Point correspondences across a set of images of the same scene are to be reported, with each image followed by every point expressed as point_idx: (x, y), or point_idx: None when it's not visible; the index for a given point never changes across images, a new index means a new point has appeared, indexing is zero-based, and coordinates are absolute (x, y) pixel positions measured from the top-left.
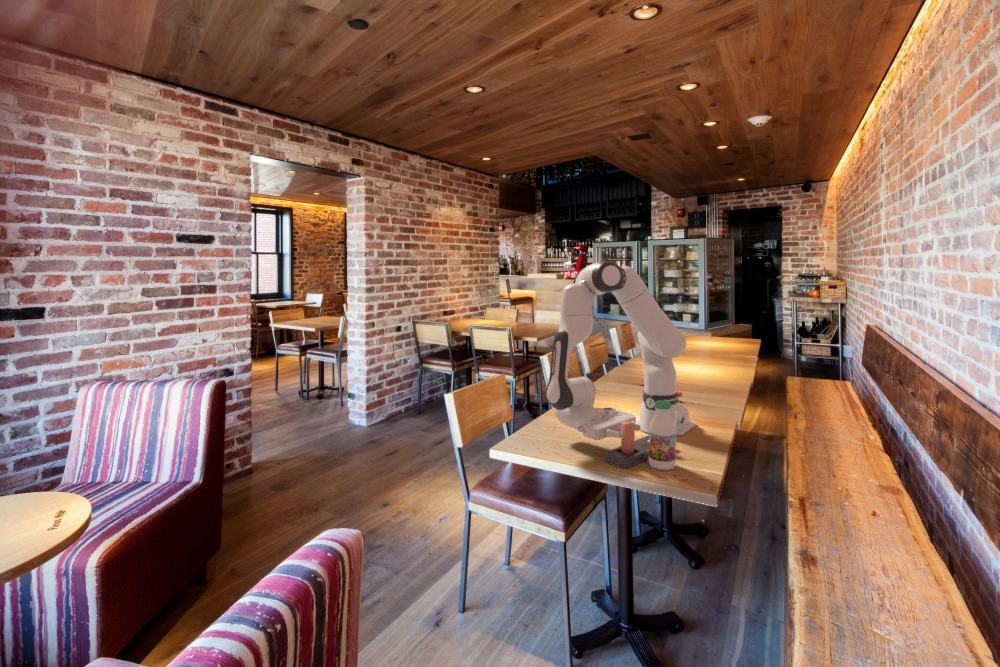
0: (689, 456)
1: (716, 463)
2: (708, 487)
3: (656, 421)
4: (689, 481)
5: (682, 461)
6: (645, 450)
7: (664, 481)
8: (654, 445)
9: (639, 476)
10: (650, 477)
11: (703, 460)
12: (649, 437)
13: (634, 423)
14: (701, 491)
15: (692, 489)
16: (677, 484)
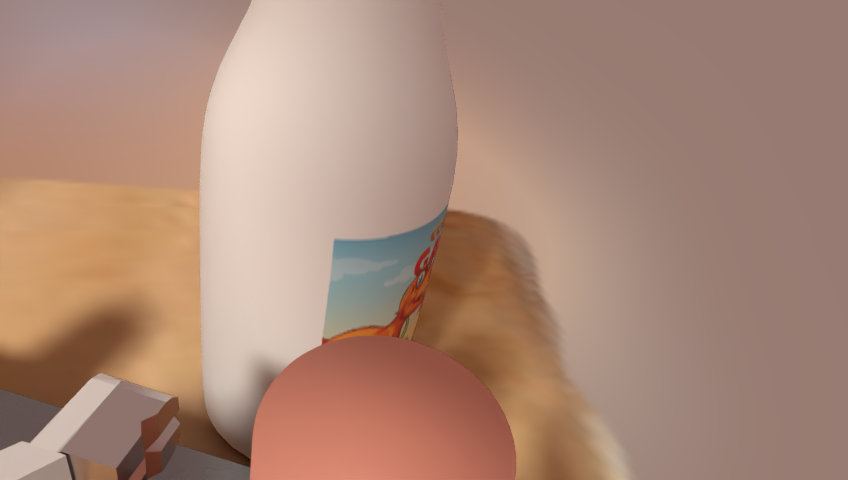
0: (52, 284)
1: (146, 194)
2: (445, 217)
3: (446, 76)
4: (436, 265)
5: (168, 307)
6: (227, 478)
7: (516, 344)
8: (425, 287)
9: (563, 472)
10: (525, 412)
11: (114, 231)
12: (388, 286)
13: (339, 340)
14: (497, 233)
15: (504, 254)
16: (503, 297)
